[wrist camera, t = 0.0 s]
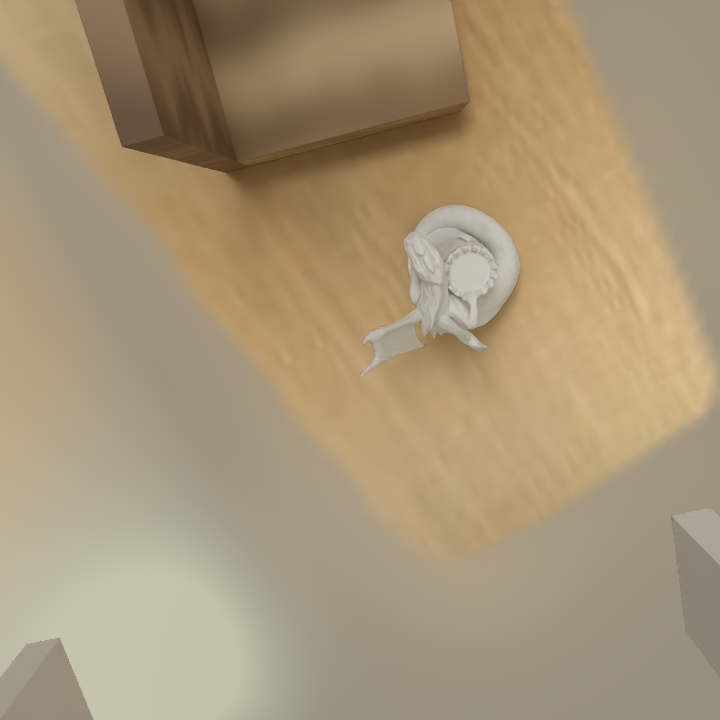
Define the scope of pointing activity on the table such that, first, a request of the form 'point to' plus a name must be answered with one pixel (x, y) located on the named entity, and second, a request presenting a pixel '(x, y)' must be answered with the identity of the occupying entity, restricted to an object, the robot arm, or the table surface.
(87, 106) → the table surface
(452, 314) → the figurine
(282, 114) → the wall shelf
